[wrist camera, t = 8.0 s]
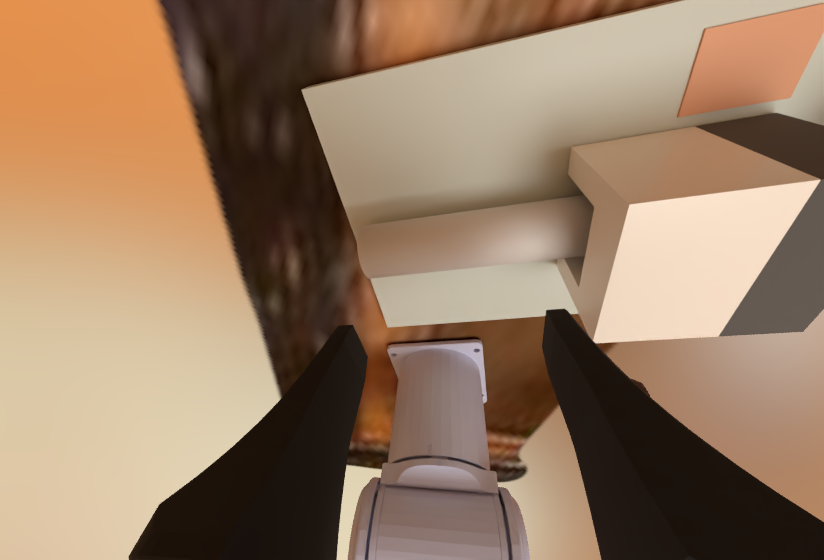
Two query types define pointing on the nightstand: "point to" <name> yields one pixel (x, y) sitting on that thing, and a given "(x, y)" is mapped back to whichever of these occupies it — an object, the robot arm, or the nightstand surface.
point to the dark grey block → (803, 242)
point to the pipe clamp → (538, 142)
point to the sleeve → (675, 232)
